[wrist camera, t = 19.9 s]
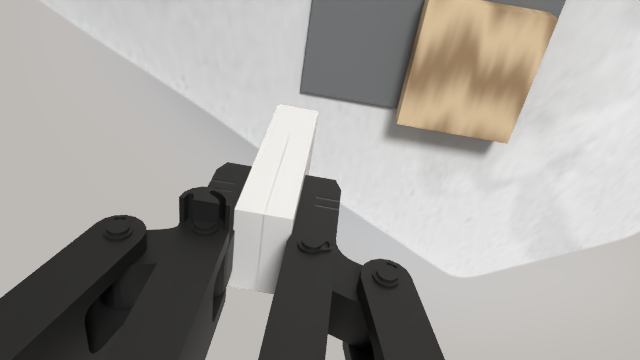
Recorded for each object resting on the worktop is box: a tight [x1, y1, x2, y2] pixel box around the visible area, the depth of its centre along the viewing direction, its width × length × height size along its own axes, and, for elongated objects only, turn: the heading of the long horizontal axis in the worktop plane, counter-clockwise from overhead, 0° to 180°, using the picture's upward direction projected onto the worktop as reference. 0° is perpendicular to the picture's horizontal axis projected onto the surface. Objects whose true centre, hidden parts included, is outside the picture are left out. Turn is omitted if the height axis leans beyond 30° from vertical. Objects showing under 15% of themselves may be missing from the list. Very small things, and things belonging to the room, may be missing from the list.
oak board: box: [396, 0, 558, 144], centre depth 41 cm, size 11×2×10 cm
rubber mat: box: [301, 0, 566, 108], centre depth 42 cm, size 20×12×1 cm, turn 82°
